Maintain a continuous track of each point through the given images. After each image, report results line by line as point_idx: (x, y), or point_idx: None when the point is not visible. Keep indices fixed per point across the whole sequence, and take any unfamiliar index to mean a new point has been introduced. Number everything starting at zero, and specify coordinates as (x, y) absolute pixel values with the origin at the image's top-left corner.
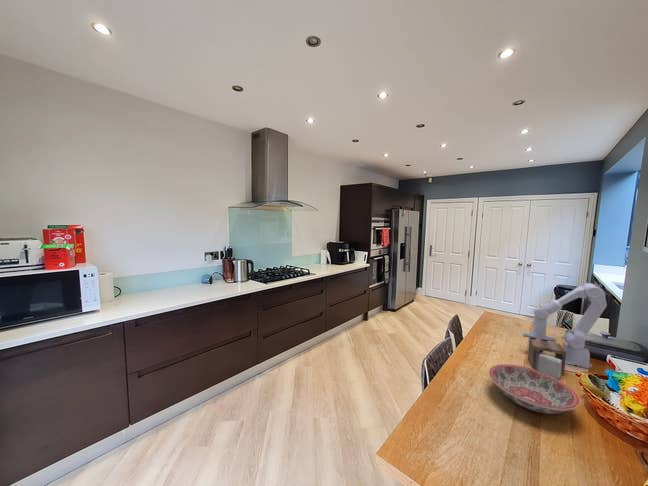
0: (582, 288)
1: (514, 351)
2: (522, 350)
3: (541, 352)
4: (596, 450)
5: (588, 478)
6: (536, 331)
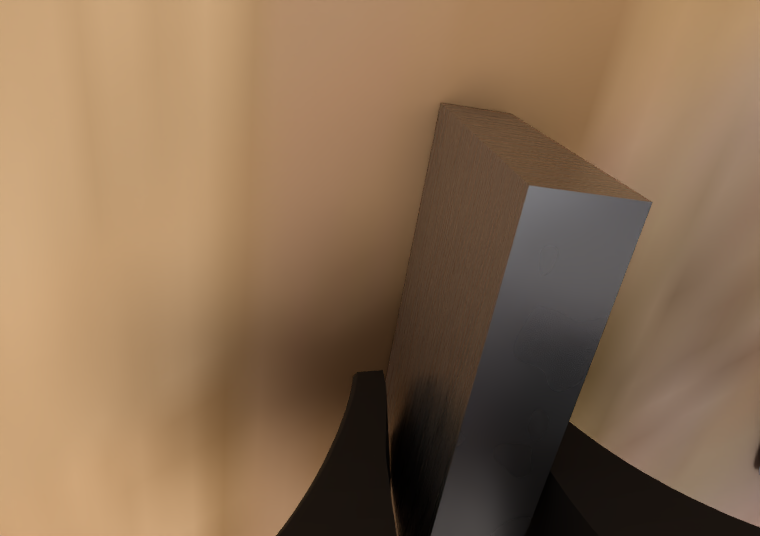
0: None
1: (27, 477)
2: (157, 348)
3: None
4: None
5: None
6: None
